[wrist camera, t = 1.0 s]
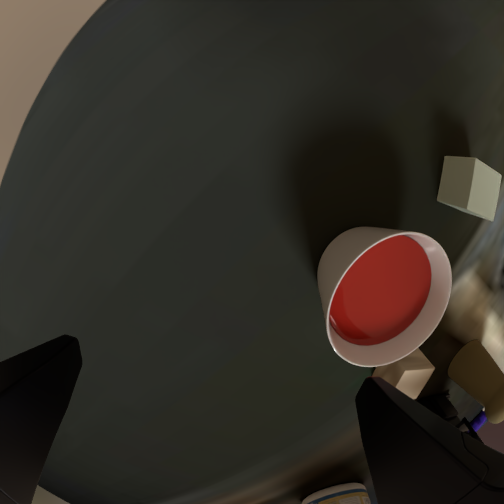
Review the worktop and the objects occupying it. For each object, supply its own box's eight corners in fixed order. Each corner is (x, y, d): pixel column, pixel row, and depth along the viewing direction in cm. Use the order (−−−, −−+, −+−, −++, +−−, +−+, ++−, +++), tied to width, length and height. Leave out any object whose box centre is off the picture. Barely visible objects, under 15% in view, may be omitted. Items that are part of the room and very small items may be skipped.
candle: (293, 318, 22) (311, 370, 15) (312, 204, 19) (345, 222, 13) (389, 319, 22) (424, 360, 16) (414, 219, 20) (466, 240, 14)
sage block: (463, 211, 20) (492, 221, 16) (435, 200, 19) (466, 209, 15) (471, 170, 18) (501, 175, 15) (444, 155, 18) (475, 157, 14)
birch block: (400, 375, 25) (416, 398, 21) (370, 376, 24) (385, 403, 21) (415, 345, 24) (435, 368, 20) (386, 345, 23) (405, 370, 19)
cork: (472, 332, 24) (526, 384, 14) (484, 348, 25) (530, 394, 15) (441, 371, 25) (487, 429, 15) (456, 382, 27) (496, 433, 16)
